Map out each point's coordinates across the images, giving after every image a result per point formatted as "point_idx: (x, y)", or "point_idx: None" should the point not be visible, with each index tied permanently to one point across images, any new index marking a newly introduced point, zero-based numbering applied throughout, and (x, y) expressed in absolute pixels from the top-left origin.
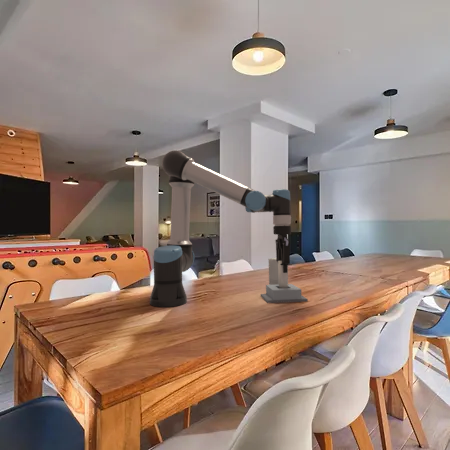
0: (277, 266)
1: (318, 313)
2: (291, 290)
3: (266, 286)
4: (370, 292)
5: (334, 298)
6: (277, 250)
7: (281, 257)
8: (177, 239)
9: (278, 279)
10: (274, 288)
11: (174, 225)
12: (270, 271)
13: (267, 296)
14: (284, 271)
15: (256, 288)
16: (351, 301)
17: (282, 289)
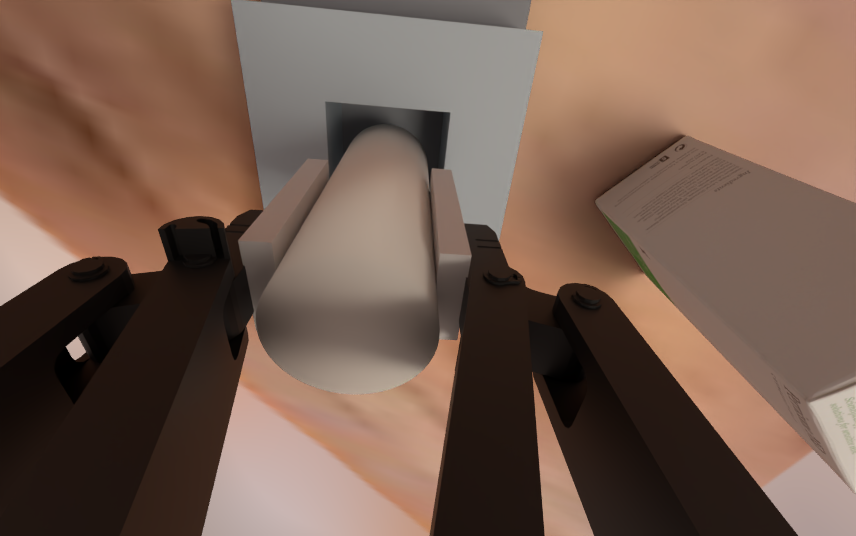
0: (759, 307)
1: (13, 204)
2: (264, 192)
3: (519, 29)
4: (423, 513)
5: None
6: (680, 533)
7: (198, 346)
8: None
9: (653, 233)
10: (333, 57)
11: None
12: (808, 210)
13: (414, 1)
14: (237, 222)
15: (838, 48)
16: (284, 418)
17: (275, 121)
